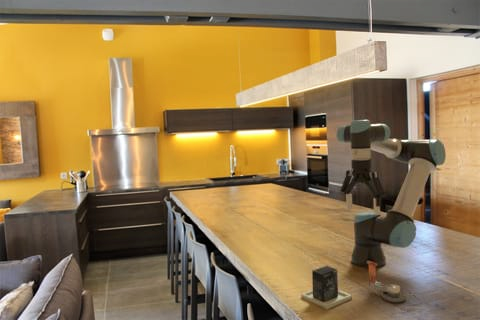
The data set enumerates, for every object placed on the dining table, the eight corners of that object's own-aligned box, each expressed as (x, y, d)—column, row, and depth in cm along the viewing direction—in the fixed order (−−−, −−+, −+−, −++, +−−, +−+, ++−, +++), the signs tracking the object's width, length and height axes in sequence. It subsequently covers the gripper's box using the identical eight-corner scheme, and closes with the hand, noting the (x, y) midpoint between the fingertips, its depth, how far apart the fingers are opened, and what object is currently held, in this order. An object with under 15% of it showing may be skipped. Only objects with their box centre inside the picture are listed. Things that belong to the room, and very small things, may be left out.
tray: (301, 297, 151) (301, 293, 151) (325, 288, 158) (325, 284, 158) (326, 309, 140) (326, 305, 140) (351, 299, 148) (351, 295, 147)
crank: (402, 294, 145) (402, 268, 145) (395, 298, 143) (394, 271, 142) (371, 284, 156) (371, 259, 155) (364, 287, 154) (363, 262, 153)
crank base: (377, 298, 147) (377, 295, 147) (391, 292, 152) (390, 289, 151) (396, 305, 140) (396, 302, 140) (410, 299, 145) (410, 295, 145)
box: (323, 302, 145) (322, 274, 144) (312, 297, 149) (311, 270, 148) (338, 296, 149) (337, 269, 148) (327, 292, 154) (326, 265, 153)
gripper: (330, 158, 167) (332, 209, 169) (381, 161, 146) (383, 218, 148) (343, 157, 171) (344, 206, 173) (394, 159, 151) (395, 215, 152)
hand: (362, 212), depth 161 cm, fingers open, 13 cm apart
